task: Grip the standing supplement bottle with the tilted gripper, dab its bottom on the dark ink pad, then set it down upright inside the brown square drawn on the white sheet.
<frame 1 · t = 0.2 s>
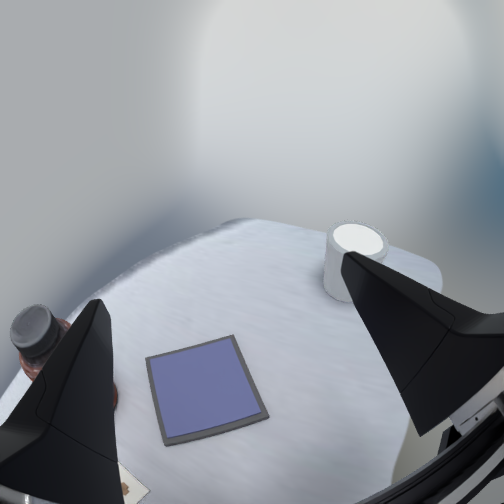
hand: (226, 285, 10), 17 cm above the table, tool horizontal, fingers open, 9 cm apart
supplement bottle: (93, 398, 21), on the table, touching marked sheet
marked sheet: (60, 478, 13), on the table
white short cylinder: (345, 286, 32), on the table
ink pad: (202, 390, 22), on the table
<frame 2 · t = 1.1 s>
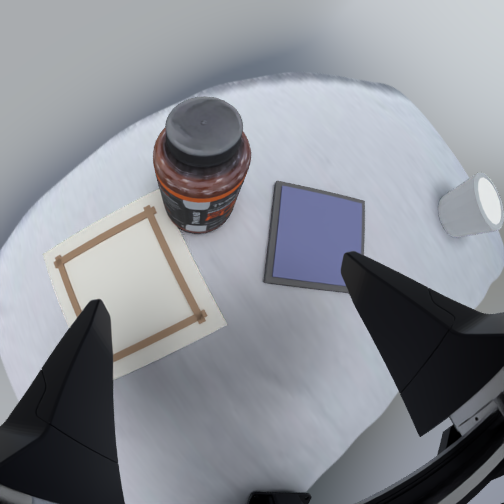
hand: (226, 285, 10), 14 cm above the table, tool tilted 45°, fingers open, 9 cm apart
supplement bottle: (199, 202, 24), on the table, touching marked sheet
marked sheet: (123, 288, 22), on the table
white short cylinder: (450, 216, 29), on the table
ink pad: (318, 239, 25), on the table
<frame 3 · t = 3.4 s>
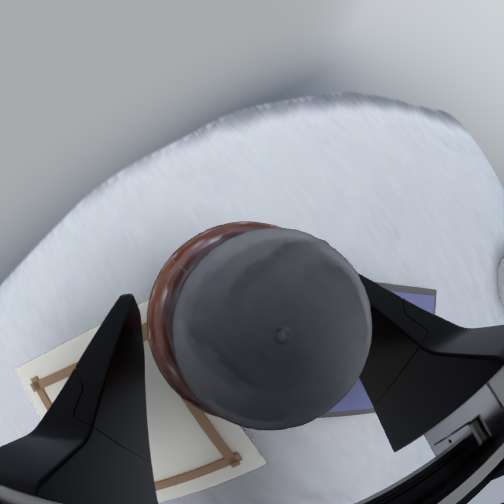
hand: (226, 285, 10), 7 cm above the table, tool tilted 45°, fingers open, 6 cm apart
supplement bottle: (223, 314, 16), on the table, touching gripper, marked sheet
marked sheet: (127, 427, 14), on the table
ink pad: (381, 349, 17), on the table
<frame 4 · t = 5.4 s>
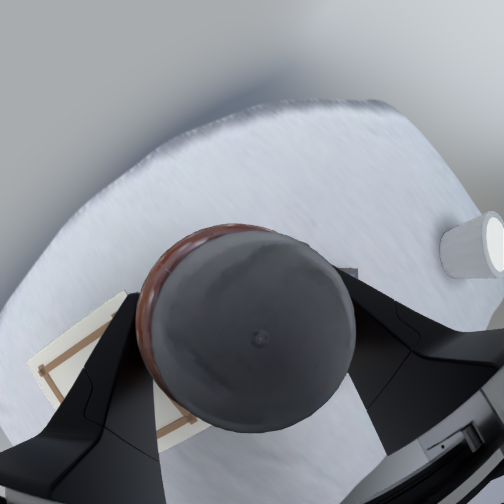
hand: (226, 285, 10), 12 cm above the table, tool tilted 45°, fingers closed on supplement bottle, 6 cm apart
supplement bottle: (220, 315, 16), point 5 cm above the table, touching gripper
marked sheet: (110, 395, 19), on the table
white short cylinder: (452, 254, 26), on the table
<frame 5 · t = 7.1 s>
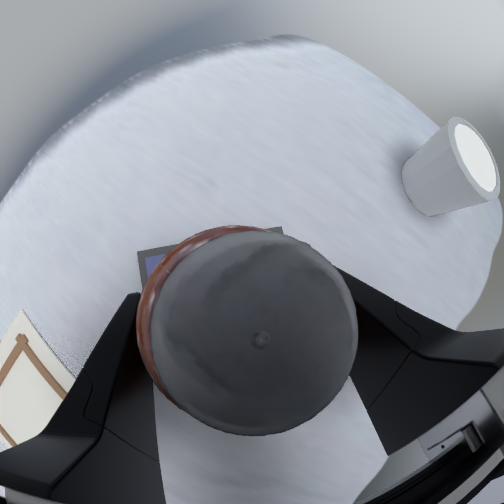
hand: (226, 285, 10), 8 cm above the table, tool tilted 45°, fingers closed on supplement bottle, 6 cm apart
supplement bottle: (222, 319, 16), point 1 cm above the table, touching gripper, ink pad
marked sheet: (40, 426, 13), on the table
white short cylinder: (423, 187, 21), on the table
ink pad: (223, 312, 17), on the table
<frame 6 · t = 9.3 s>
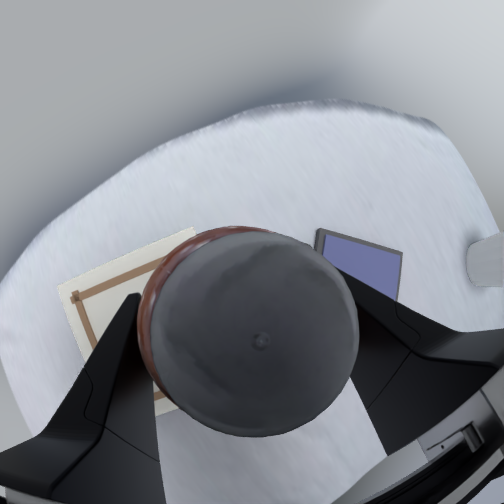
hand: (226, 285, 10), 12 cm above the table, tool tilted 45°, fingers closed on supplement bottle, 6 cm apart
supplement bottle: (224, 320, 16), point 6 cm above the table, touching gripper
marked sheet: (149, 334, 20), on the table
white short cylinder: (476, 264, 27), on the table
ink pad: (354, 291, 23), on the table
when the fingers open (8 cm above the table, at t = 11.3 s): supplement bottle drops 1 cm, resting on marked sheet.
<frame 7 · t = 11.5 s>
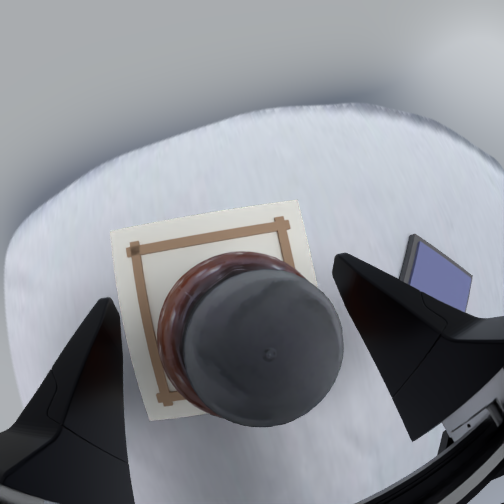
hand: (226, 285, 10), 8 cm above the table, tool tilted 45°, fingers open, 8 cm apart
supplement bottle: (220, 322, 17), resting on marked sheet
marked sheet: (222, 312, 17), on the table
ink pad: (431, 304, 20), on the table
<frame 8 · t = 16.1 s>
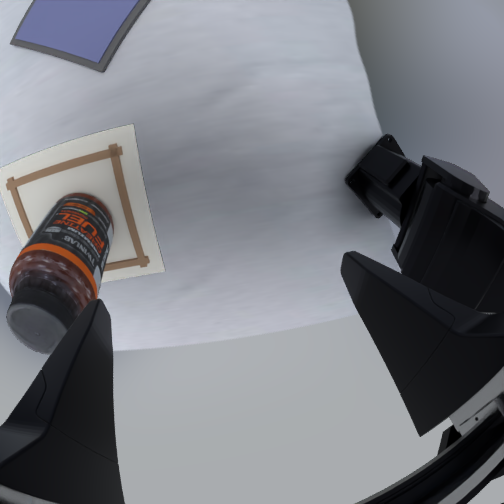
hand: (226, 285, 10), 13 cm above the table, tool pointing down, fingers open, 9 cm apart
supplement bottle: (82, 222, 19), resting on marked sheet
marked sheet: (75, 221, 19), on the table
ink pad: (86, 0, 10), on the table
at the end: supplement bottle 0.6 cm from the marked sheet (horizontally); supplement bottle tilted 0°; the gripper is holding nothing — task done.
